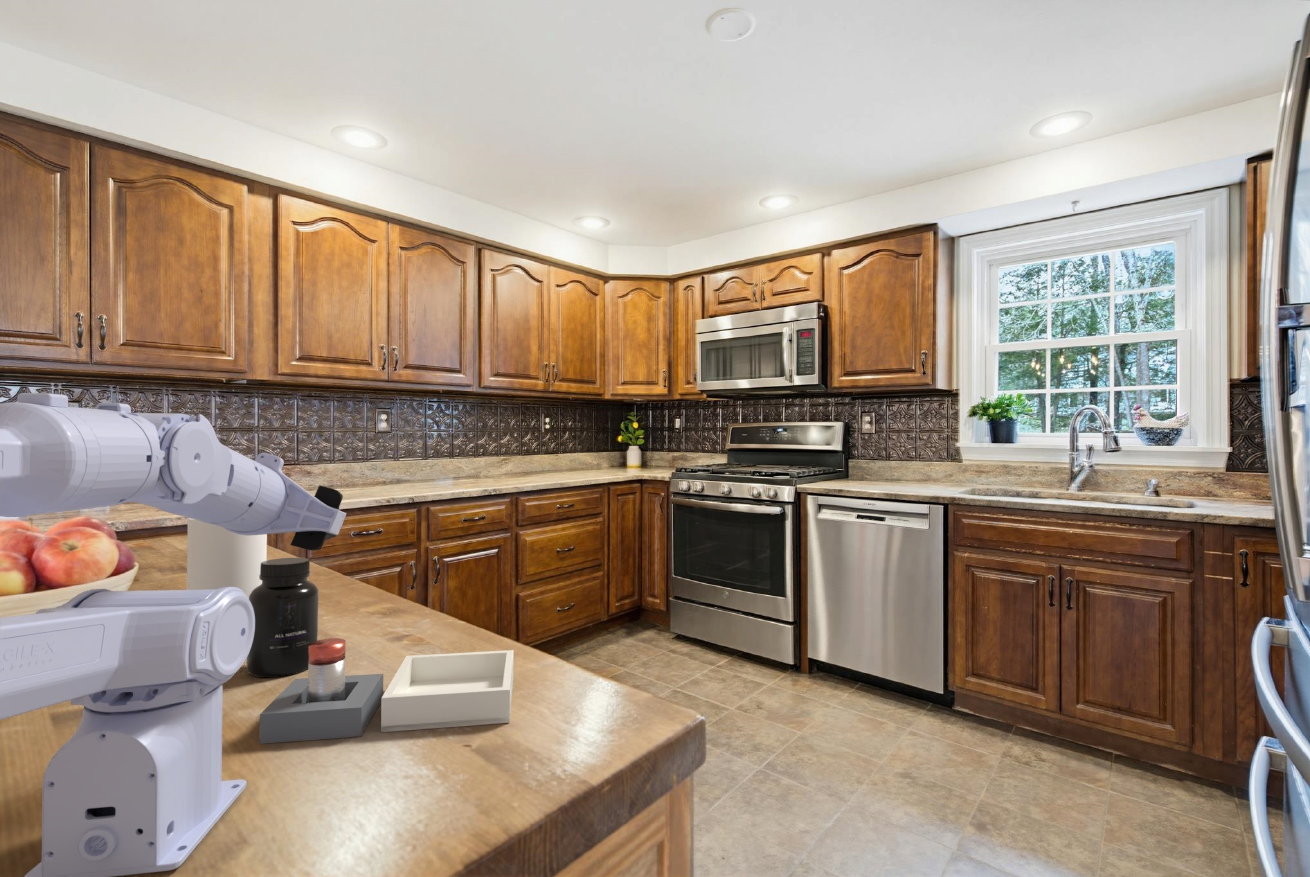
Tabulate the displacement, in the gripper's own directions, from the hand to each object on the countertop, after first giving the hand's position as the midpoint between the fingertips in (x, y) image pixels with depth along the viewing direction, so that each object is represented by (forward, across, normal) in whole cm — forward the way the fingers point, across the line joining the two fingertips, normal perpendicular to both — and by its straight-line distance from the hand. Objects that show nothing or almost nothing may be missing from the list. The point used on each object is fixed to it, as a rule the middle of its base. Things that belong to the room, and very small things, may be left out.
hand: (298, 516), depth 62 cm
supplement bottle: (+14, +1, +16) cm, 21 cm away
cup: (+23, +12, +16) cm, 31 cm away
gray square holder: (0, -10, +17) cm, 19 cm away
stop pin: (0, -10, +17) cm, 19 cm away
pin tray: (+3, -20, +13) cm, 24 cm away
